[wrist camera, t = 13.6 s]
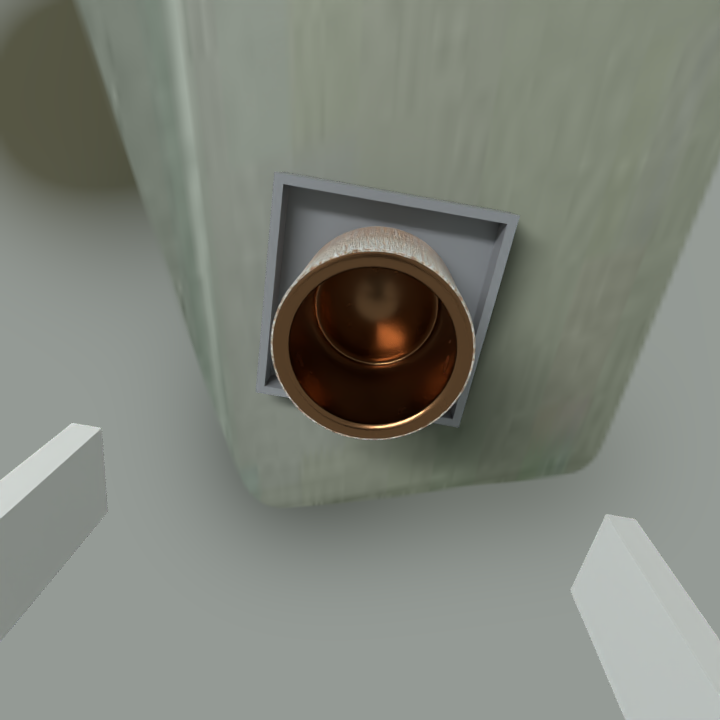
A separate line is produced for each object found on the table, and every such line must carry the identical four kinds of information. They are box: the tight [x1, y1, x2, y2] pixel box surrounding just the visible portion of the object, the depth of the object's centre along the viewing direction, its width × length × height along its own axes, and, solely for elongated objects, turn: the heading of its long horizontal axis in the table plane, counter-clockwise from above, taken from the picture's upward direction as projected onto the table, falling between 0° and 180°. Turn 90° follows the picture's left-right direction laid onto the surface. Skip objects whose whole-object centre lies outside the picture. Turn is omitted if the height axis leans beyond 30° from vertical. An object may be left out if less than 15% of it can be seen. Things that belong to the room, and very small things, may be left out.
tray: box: [256, 172, 520, 428], centre depth 32 cm, size 15×15×2 cm
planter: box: [271, 226, 476, 440], centre depth 28 cm, size 11×11×10 cm
